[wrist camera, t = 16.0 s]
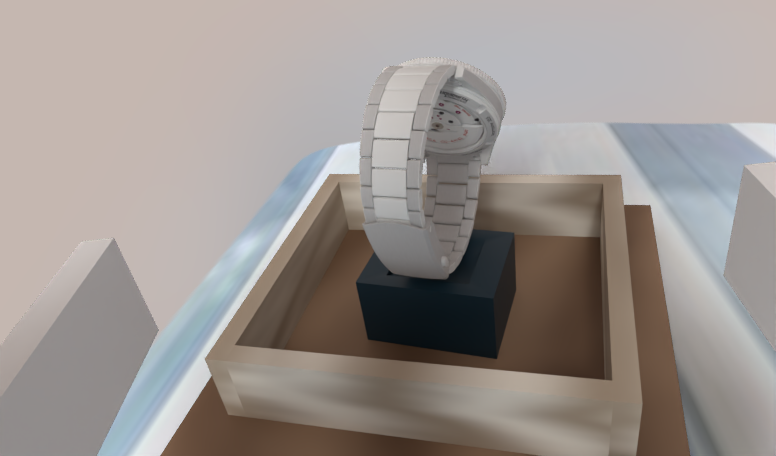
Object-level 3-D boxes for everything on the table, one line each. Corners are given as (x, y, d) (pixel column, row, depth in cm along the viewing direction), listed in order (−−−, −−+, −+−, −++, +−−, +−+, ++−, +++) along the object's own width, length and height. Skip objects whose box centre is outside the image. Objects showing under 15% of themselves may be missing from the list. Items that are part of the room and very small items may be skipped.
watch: (523, 263, 29) (518, 29, 23) (487, 393, 23) (467, 118, 17) (411, 253, 31) (379, 34, 25) (350, 369, 25) (288, 116, 19)
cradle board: (648, 225, 32) (656, 153, 30) (698, 567, 18) (720, 479, 16) (328, 216, 37) (314, 155, 35) (170, 477, 23) (129, 401, 21)
